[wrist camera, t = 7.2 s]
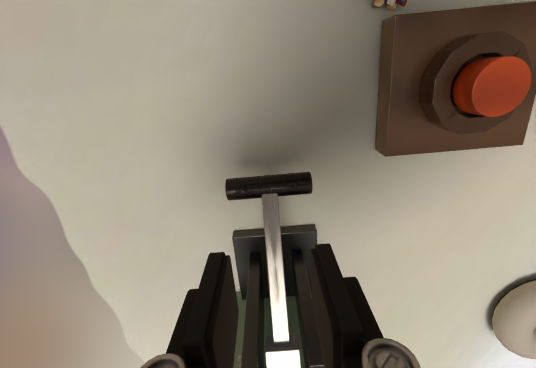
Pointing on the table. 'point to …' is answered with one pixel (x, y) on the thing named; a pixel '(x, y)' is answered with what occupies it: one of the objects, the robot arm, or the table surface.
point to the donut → (517, 320)
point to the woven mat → (390, 3)
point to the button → (492, 85)
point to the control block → (449, 78)
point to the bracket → (257, 288)
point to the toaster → (267, 325)
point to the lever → (274, 256)
